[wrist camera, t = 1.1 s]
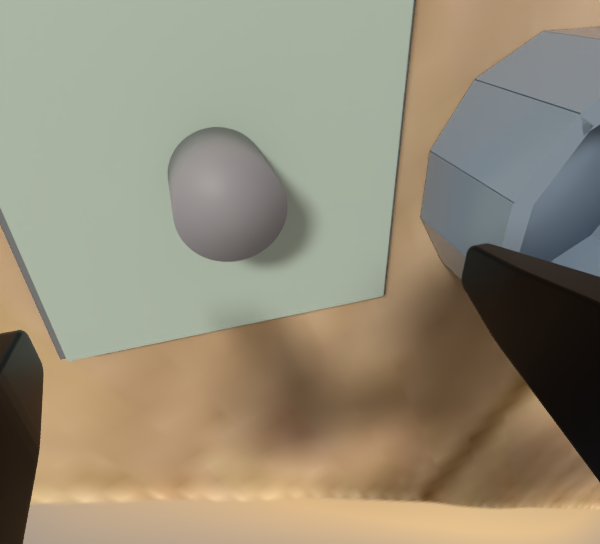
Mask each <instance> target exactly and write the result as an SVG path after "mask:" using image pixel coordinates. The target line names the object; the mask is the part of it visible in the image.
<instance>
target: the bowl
mask: <svg viewBox="0 0 600 544" xmlns="http://www.w3.org/2000/svg"><path fill="white" fill-rule="evenodd" d="M420 217H421V220H422V222H423V224H424V226H425V228H426V230H427V232H428V234H429V237H430V239H431V241H432V243H433V245H434V247H435V249H436V251H437V253H438V255H439V257H440V259H441V261H442V262H443V263H444V264H445V265H446V266H447V267H448V268H449V269H450V270H451V271H452V272H453V273H454V274H456V275H457V276H458V277H459V278H460V279H461V276H462V271H463V267H464V262H465V258H466V253H467V250H468V249H469V247H471V246H473V245H478V244H483V243H490V244H493V245H496V246H500V247H503V248H506V249H510V250H513V251H516V252H520V253H523V254H526V255H529V256H533V257H536V258H539V259H543V260H546V261H549V262H553V263H556V264H559V265H562V266H566V267H569V268H572V269H576V270H579V271H582V272H586V273H589V274H592V275H595V276H599V277H600V27H591V28H577V29H562V30H547V31H542V32H541V33H540V34H538V35H537V36H535V37H534V38H532V39H531V40H530V41H528V42H527V43H525V44H524V45H523V46H521V47H520V48H518V49H517V50H516V51H514V52H513V53H511V54H510V55H508V56H507V57H506V58H504V59H503V60H501V61H500V62H499V63H497V64H496V65H494V66H493V67H492V68H490V69H489V70H487V71H486V72H484V73H483V74H482V75H480V76H479V77H477V78H476V80H474V81H473V83H472V85H471V86H470V88H469V89H468V91H467V93H466V94H465V96H464V97H463V99H462V101H461V102H460V104H459V105H458V107H457V109H456V110H455V112H454V113H453V115H452V116H451V118H450V120H449V121H448V123H447V124H446V126H445V128H444V129H443V131H442V132H441V134H440V136H439V137H438V139H437V140H436V142H435V144H434V145H433V147H432V148H431V150H430V153H429V160H428V167H427V174H426V181H425V188H424V195H423V202H422V209H421V216H420Z"/></svg>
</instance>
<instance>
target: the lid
mask: <svg viewBox="0 0 600 544" xmlns="http://www.w3.org/2000/svg"><path fill="white" fill-rule="evenodd" d="M413 3H414V0H0V208H1V210H2V213H3V215H4V217H5V219H6V222H7V224H8V226H9V229H10V231H11V233H12V235H13V238H14V240H15V242H16V245H17V247H18V249H19V252H20V254H21V256H22V258H23V261H24V263H25V265H26V268H27V270H28V272H29V274H30V277H31V279H32V281H33V284H34V286H35V288H36V290H37V293H38V295H39V297H40V300H41V302H42V304H43V307H44V309H45V311H46V313H47V316H48V318H49V320H50V323H51V325H52V327H53V329H54V332H55V334H56V336H57V339H58V341H59V343H60V345H61V348H62V350H63V352H64V355H65V357H66V359H67V362H68V361H73V360H77V359H82V358H87V357H92V356H97V355H102V354H106V353H111V352H116V351H121V350H126V349H131V348H136V347H140V346H145V345H150V344H155V343H160V342H165V341H169V340H174V339H179V338H184V337H189V336H194V335H198V334H203V333H208V332H213V331H218V330H223V329H228V328H232V327H237V326H242V325H247V324H252V323H257V322H261V321H266V320H271V319H276V318H281V317H286V316H290V315H295V314H300V313H305V312H310V311H315V310H320V309H324V308H329V307H334V306H339V305H344V304H349V303H353V302H358V301H363V300H368V299H373V298H378V297H382V296H383V294H384V284H385V275H386V265H387V255H388V245H389V236H390V226H391V216H392V207H393V197H394V187H395V178H396V168H397V158H398V149H399V139H400V129H401V120H402V110H403V100H404V91H405V81H406V71H407V62H408V52H409V42H410V33H411V23H412V13H413Z"/></svg>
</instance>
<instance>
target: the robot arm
mask: <svg viewBox="0 0 600 544" xmlns="http://www.w3.org/2000/svg"><path fill="white" fill-rule="evenodd" d="M461 280H462V285H463V287H464V289H465V291H466V293H467V294H468V296H469V298H470V299H471V301H472V303H473V304H474V306H475V308H476V310H477V311H478V313H479V315H480V316H481V318H482V320H483V321H484V323H485V325H486V326H487V328H488V330H489V332H490V333H491V335H492V336H493V338H494V339H495V341H496V342H497V344H498V345H499V347H500V348H501V350H502V351H503V352H504V354H505V355H506V356H507V358H508V359H509V360H510V362H511V363H512V364H513V366H514V367H515V368H516V370H517V371H518V372H519V374H520V375H521V377H522V378H523V379H524V381H525V382H526V383H527V385H528V386H529V387H530V389H531V390H532V391H533V393H534V394H535V395H536V397H537V398H538V399H539V401H540V402H541V403H542V405H543V406H544V408H545V409H546V410H547V412H548V413H549V414H550V416H551V417H552V418H553V420H554V421H555V422H556V424H557V425H558V426H559V428H560V429H561V430H562V432H563V433H564V435H565V436H566V437H567V439H568V440H569V441H570V443H571V444H572V445H573V447H574V448H575V449H576V451H577V452H578V453H579V455H580V456H581V457H582V459H583V460H584V462H585V463H586V464H587V466H588V467H589V468H590V470H591V471H592V472H593V474H594V475H595V476H596V478H597V479H598V480H599V482H600V277H599V276H595V275H592V274H589V273H586V272H582V271H579V270H576V269H572V268H569V267H566V266H562V265H559V264H556V263H553V262H549V261H546V260H543V259H539V258H536V257H533V256H529V255H526V254H523V253H520V252H516V251H513V250H510V249H506V248H503V247H500V246H496V245H493V244H490V243H483V244H478V245H473V246H471V247H469V249H468V250H467V253H466V258H465V262H464V267H463V271H462V276H461ZM42 395H43V366H42V363H41V361H40V359H39V357H38V354H37V352H36V350H35V348H34V346H33V344H32V342H31V340H30V338H29V336H28V334H27V333H26V332H25V331H22V330H17V331H12V332H6V333H1V334H0V544H23V539H24V534H25V529H26V523H27V517H28V511H29V507H30V501H31V496H32V490H33V485H34V479H35V474H36V468H37V462H38V456H39V448H40V434H41V414H42Z"/></svg>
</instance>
